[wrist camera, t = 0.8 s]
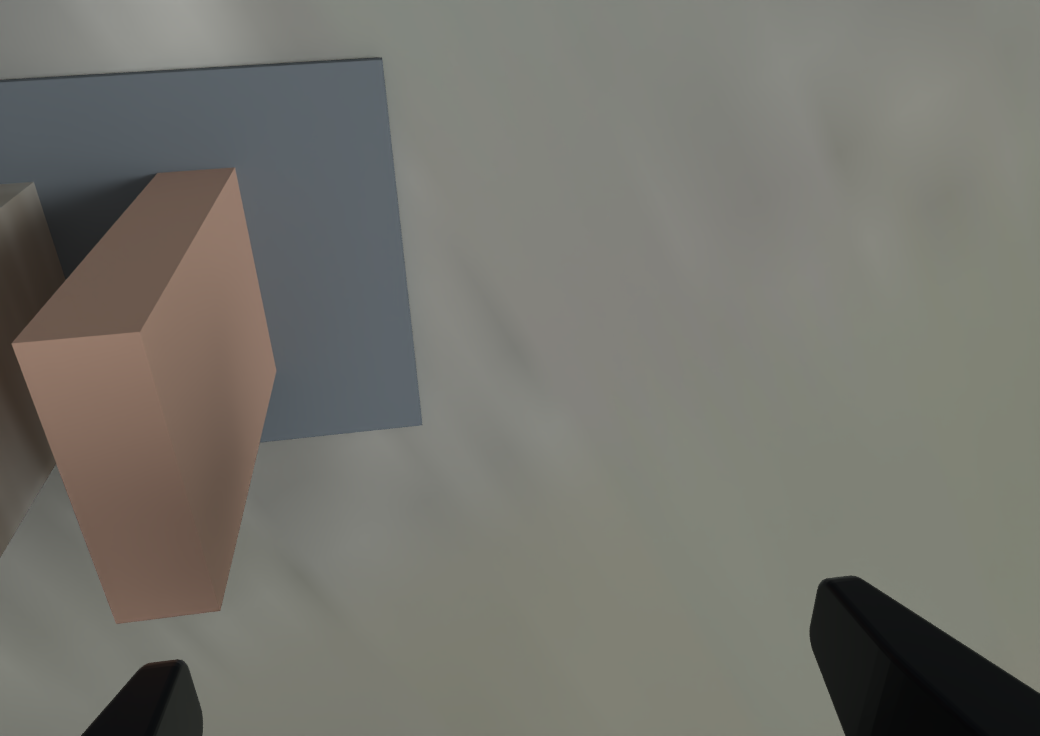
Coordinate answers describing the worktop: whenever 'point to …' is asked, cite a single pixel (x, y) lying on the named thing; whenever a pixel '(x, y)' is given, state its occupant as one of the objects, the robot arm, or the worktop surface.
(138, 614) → the domino
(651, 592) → the worktop surface
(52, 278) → the domino
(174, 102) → the mat
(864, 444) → the worktop surface
